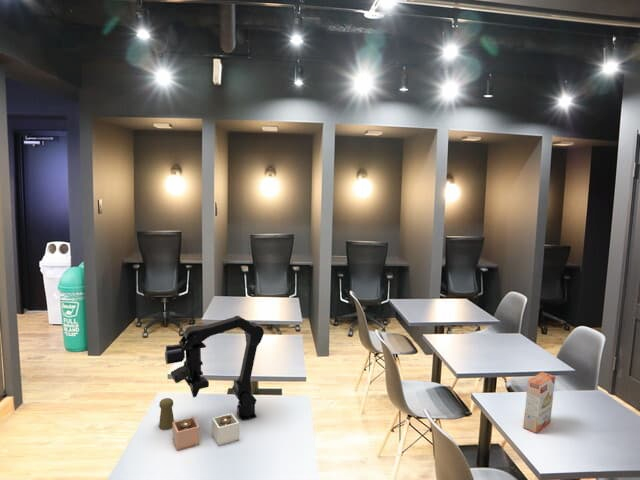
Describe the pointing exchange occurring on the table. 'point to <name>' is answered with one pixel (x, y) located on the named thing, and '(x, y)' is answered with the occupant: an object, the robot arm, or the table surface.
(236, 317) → the robot arm
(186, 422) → the brown and grey plunger
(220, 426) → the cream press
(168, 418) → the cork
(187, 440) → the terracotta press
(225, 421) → the round copper knob
